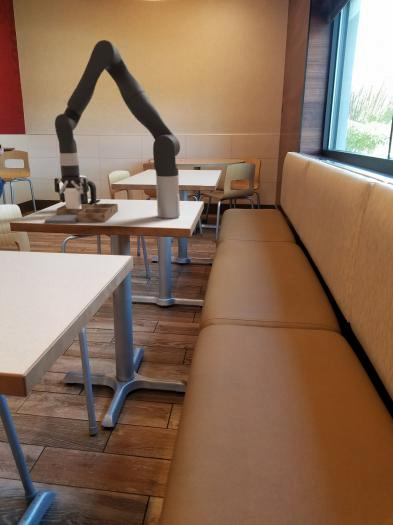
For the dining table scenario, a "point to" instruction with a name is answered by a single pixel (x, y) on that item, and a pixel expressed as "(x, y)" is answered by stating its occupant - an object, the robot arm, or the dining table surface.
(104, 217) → the frame
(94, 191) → the milk frother
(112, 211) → the frame
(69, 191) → the can
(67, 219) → the mat
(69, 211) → the frame
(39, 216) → the dining table surface
